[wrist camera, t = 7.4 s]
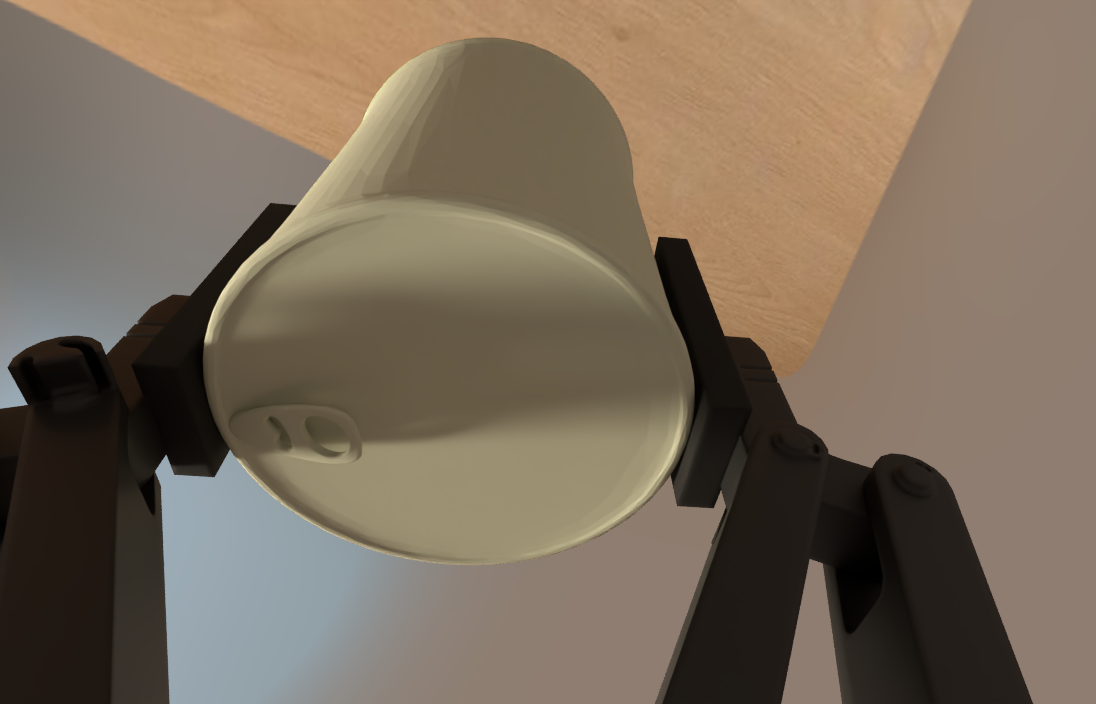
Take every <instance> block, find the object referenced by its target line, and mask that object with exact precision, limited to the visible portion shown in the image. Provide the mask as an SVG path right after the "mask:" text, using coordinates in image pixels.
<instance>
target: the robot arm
mask: <svg viewBox="0 0 1096 704" xmlns="http://www.w3.org/2000/svg"><path fill="white" fill-rule="evenodd" d="M296 207H297V205H287V204H275V203H270V204H269V205H268V206H267V208H266V209H265V210H264V211H263V212H262V213H261V214H260V216H259V217H258V218H257V219H256V220H255V221H254V223H253V224H252V225H251V226H250V227H249V229H248V230H247V231H246V232H245V233H244V234H243V235H242V237H241V238H240V239H239V240H238V241H237V242H236V244H235V245H234V246H233V247H232V248H231V249H230V250H229V252H228V253H227V254H226V255H225V256H224V257H223V259H222V260H221V261H220V262H219V263H218V264H217V266H216V267H215V268H214V269H213V270H212V272H211V273H210V274H209V275H208V276H207V277H206V278H205V279H204V281H203V282H202V283H201V284H200V285H199V286H198V288H197V289H196V290H195V291H194V292H193V293H192V295H191V296H184V295H171V296H170V297H168V298H166V299H164V300H163V301H161V302H159V303H157V304H155V305H153V306H152V307H151V308H150V309H149V310H148V311H147V312H146V313H145V314H144V315H143V316H142V317H141V318H140V319H139V320H138V324H135V325H134V326H133V327H132V328H131V329H130V330H129V331H128V332H127V336H123V338H122V339H121V340H120V341H119V342H118V343H117V344H116V345H115V346H114V347H113V348H112V349H111V350H110V352H109V353H108V354H107V355H106V354H105V352H104V349H103V347H102V344H101V343H100V342H98V341H96V340H95V339H93V338H90V337H83V336H66V337H58V338H54V339H50V340H46V341H42V342H40V343H38V344H36V345H33V346H31V347H29V348H26V349H25V350H24V351H22V352H21V353H20V354H18V355H17V356H15V357H14V358H13V360H12V361H11V363H10V364H9V366H8V369H9V371H10V373H11V375H12V377H13V378H14V380H15V382H16V384H17V386H18V388H19V389H20V391H21V393H22V395H23V397H24V398H25V400H26V402H27V404H28V405H25V406H18V407H10V408H3V409H0V704H169V684H168V683H169V681H168V656H167V631H166V608H165V582H164V557H163V531H162V508H161V507H162V506H161V485H160V483H159V480H158V477H157V475H156V473H155V470H156V469H157V467H158V466H159V464H160V463H161V461H162V460H163V458H164V457H165V455H167V457H168V460H169V462H170V464H171V467H172V470H173V472H174V474H175V475H188V476H206V477H215V475H216V473H217V472H218V470H219V468H220V466H221V465H222V463H223V461H224V459H225V457H226V456H227V454H228V452H229V450H230V448H229V447H228V445H227V444H226V442H225V440H224V439H223V437H222V435H221V433H220V431H219V429H218V427H217V425H216V423H215V421H214V418H213V415H212V412H211V409H210V406H209V403H208V399H207V394H206V389H205V385H204V377H203V351H204V341H205V336H206V332H207V328H208V324H209V321H210V318H211V315H212V312H213V309H214V307H215V305H216V303H217V301H218V299H219V297H220V295H221V293H222V291H223V290H224V288H225V287H226V285H227V284H228V282H229V281H230V280H231V278H232V277H233V275H234V274H235V273H236V272H237V270H238V269H239V268H240V266H241V265H242V264H243V263H244V262H245V261H246V260H247V259H248V258H249V257H250V256H251V255H252V254H253V253H254V252H255V251H256V250H257V249H258V248H259V247H260V246H262V245H263V244H264V243H266V242H267V241H268V240H269V239H270V238H271V237H272V235H273V234H274V233H275V232H276V231H277V230H278V229H279V227H280V226H281V225H282V224H283V223H284V222H285V220H286V219H287V218H288V217H289V215H290V214H291V213H292V212H293V210H294V209H295V208H296ZM654 258H655V261H656V265H657V268H658V271H659V275H660V278H661V282H662V285H663V288H664V292H665V295H666V298H667V301H668V304H669V307H670V310H671V313H672V316H673V318H674V320H675V322H676V324H677V326H678V328H679V330H680V332H681V334H682V337H683V339H684V341H685V344H686V347H687V351H688V354H689V358H690V362H691V366H692V371H693V377H694V389H695V407H694V416H693V421H692V426H691V430H690V433H689V437H688V441H687V444H686V446H685V448H684V451H683V453H682V455H681V457H680V460H679V461H678V463H677V465H676V467H675V469H674V471H673V472H672V473H671V479H672V484H673V488H674V493H675V498H676V503H677V506H687V507H703V508H714V506H715V503H716V501H717V499H718V496H719V494H720V491H721V490H722V494H723V497H724V501H725V504H726V509H725V511H724V513H723V516H722V518H721V521H720V523H719V526H718V528H717V531H716V533H715V535H714V538H713V540H712V546H711V549H710V552H709V554H708V557H707V560H706V563H705V566H704V569H703V571H702V574H701V577H700V579H699V582H698V585H697V588H696V591H695V593H694V596H693V599H692V602H691V605H690V608H689V610H688V613H687V616H686V619H685V621H684V624H683V627H682V630H681V633H680V635H679V638H678V641H677V644H676V647H675V649H674V652H673V655H672V658H671V660H670V663H669V666H668V669H667V672H666V674H665V677H664V680H663V683H662V686H661V689H660V691H659V694H658V697H657V700H656V702H655V704H781V701H782V696H783V691H784V686H785V681H786V676H787V671H788V665H789V660H790V655H791V651H792V645H793V640H794V635H795V630H796V625H797V620H798V615H799V610H800V605H801V599H802V594H803V589H804V584H805V579H806V574H807V569H808V564H809V559H812V560H815V561H818V562H821V563H823V568H824V575H825V582H826V589H827V597H828V604H829V611H830V618H831V625H832V633H833V640H834V647H835V655H836V662H837V669H838V676H839V683H840V691H841V697H842V704H1033V702H1032V700H1031V697H1030V695H1029V692H1028V689H1027V686H1026V684H1025V681H1024V678H1023V676H1022V673H1021V671H1020V668H1019V665H1018V662H1017V660H1016V657H1015V655H1014V652H1013V649H1012V647H1011V644H1010V641H1009V639H1008V636H1007V633H1006V631H1005V628H1004V625H1003V623H1002V620H1001V617H1000V615H999V612H998V609H997V607H996V604H995V601H994V599H993V596H992V593H991V591H990V588H989V585H988V583H987V580H986V577H985V575H984V572H983V570H982V567H981V564H980V561H979V559H978V556H977V554H976V551H975V548H974V546H973V543H972V540H971V538H970V535H969V532H968V530H967V527H966V524H965V522H964V519H963V517H962V514H961V511H960V509H959V506H958V503H957V500H956V498H955V495H954V493H953V490H952V488H951V487H950V485H949V483H948V482H947V480H946V479H945V478H944V477H943V476H942V475H941V474H940V473H939V472H938V471H937V470H936V469H935V468H933V467H931V466H930V465H928V464H926V463H924V462H923V461H921V460H919V459H916V458H913V457H910V456H907V455H901V454H888V455H884V456H881V457H880V458H879V459H878V460H877V461H876V463H875V464H874V466H873V468H869V467H866V466H862V465H859V464H856V463H852V462H849V461H846V460H843V459H840V458H837V457H835V456H832V455H830V454H828V449H827V447H826V445H825V444H824V442H823V441H822V439H821V438H819V437H818V436H817V435H816V434H814V432H812V431H811V430H809V429H807V428H805V427H803V426H801V425H799V424H797V422H796V419H795V417H794V415H793V413H792V411H791V409H790V406H789V404H788V402H787V400H786V398H785V395H784V393H783V391H782V389H781V387H780V384H779V383H777V378H776V376H775V373H774V371H772V367H771V365H770V362H769V360H768V358H767V356H766V354H765V352H764V351H763V350H762V349H761V348H760V347H759V346H758V345H757V344H756V343H755V342H753V341H752V340H751V339H750V338H743V337H730V336H724V333H723V331H722V328H721V326H720V323H719V320H718V318H717V315H716V313H715V310H714V307H713V305H712V302H711V300H710V297H709V294H708V292H707V289H706V287H705V284H704V282H703V279H702V276H701V274H700V271H699V269H698V266H697V263H696V261H695V258H694V256H693V253H692V250H691V248H690V245H689V243H688V240H687V239H679V238H668V237H658V242H657V246H656V251H655V255H654Z"/></svg>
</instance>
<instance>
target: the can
mask: <svg viewBox="0 0 1096 704" xmlns="http://www.w3.org/2000/svg"><path fill="white" fill-rule="evenodd" d="M203 377H204V385H205V389H206V394H207V399H208V403H209V406H210V409H211V412H212V415H213V418H214V421H215V423H216V425H217V427H218V429H219V431H220V433H221V435H222V437H223V439H224V440H225V442H226V444H227V445H228V447H229V448H230V450H231V451H232V453H233V455H234V456H235V457H236V459H237V460H238V461H239V462H240V463H241V465H242V466H243V467H244V468H245V470H246V471H247V472H248V473H249V474H250V476H251V477H252V478H253V479H254V480H255V481H256V482H258V484H259V485H260V486H262V487H263V488H264V489H265V490H266V491H267V492H268V493H269V494H270V495H271V496H273V497H274V498H275V499H277V500H278V501H279V502H280V503H282V504H283V505H284V506H285V507H287V508H288V509H290V510H291V511H293V512H294V513H296V514H297V515H299V516H300V517H302V518H303V519H305V520H306V521H308V522H310V523H312V524H314V525H315V526H317V527H319V528H321V529H323V530H325V531H327V532H329V533H331V534H333V535H335V536H337V537H339V538H342V539H344V540H347V541H349V542H351V543H354V544H357V545H360V546H362V547H365V548H368V549H372V550H375V551H378V552H381V553H385V554H389V555H393V556H397V557H401V558H406V559H412V560H417V561H424V562H431V563H440V564H455V565H488V564H501V563H511V562H519V561H525V560H530V559H535V558H540V557H544V556H548V555H552V554H556V553H559V552H562V551H564V550H567V549H571V548H573V547H576V546H578V545H581V544H583V543H585V542H588V541H590V540H592V539H594V538H596V537H599V536H601V535H602V534H604V533H606V532H608V531H609V530H611V529H613V528H614V527H616V526H618V525H619V524H621V523H622V522H624V521H625V520H627V519H628V518H630V517H631V516H632V515H633V514H635V513H636V512H637V511H638V510H639V509H640V508H642V506H644V505H645V504H646V503H647V502H648V501H650V499H651V498H652V497H653V496H654V495H655V494H656V493H657V491H658V490H659V489H660V488H661V487H662V486H663V485H664V483H665V482H666V480H667V479H668V478H669V476H670V475H671V473H672V472H673V471H674V469H675V467H676V465H677V463H678V461H679V460H680V457H681V455H682V453H683V451H684V448H685V446H686V444H687V441H688V437H689V433H690V430H691V426H692V421H693V416H694V407H695V389H694V377H693V371H692V366H691V362H690V358H689V354H688V351H687V347H686V344H685V341H684V339H683V337H682V334H681V332H680V330H679V328H678V326H677V324H676V322H675V320H674V318H673V316H672V313H671V310H670V307H669V304H668V301H667V298H666V295H665V292H664V288H663V285H662V282H661V278H660V275H659V271H658V268H657V265H656V261H655V258H654V254H653V251H652V247H651V244H650V241H649V237H648V234H647V230H646V227H645V224H644V220H643V217H642V213H641V210H640V207H639V203H638V200H637V196H636V192H635V188H634V184H633V165H632V158H631V153H630V148H629V144H628V141H627V137H626V135H625V132H624V129H623V127H622V125H621V122H620V120H619V118H618V117H617V115H616V113H615V111H614V109H613V108H612V106H611V105H610V103H609V102H608V100H607V99H606V97H605V96H604V95H603V94H602V92H601V91H600V90H599V89H598V88H597V87H596V86H595V84H594V83H593V82H592V81H591V80H590V79H589V78H588V77H587V76H585V75H584V74H583V73H582V72H581V71H580V70H578V69H577V68H576V67H574V66H573V65H571V64H570V63H568V62H567V61H566V60H564V59H562V58H560V57H558V56H557V55H555V54H553V53H551V52H549V51H547V50H544V49H542V48H539V47H537V46H534V45H531V44H528V43H524V42H520V41H515V40H510V39H502V38H472V39H464V40H459V41H454V42H450V43H446V44H443V45H440V46H437V47H435V48H432V49H430V50H428V51H426V52H424V53H422V54H420V55H419V56H417V57H415V58H413V59H412V60H410V61H409V62H408V63H406V64H405V65H403V66H402V67H401V68H400V69H398V70H397V71H396V72H395V73H394V74H393V75H392V76H391V77H390V78H389V79H388V80H387V81H386V82H385V83H384V84H383V86H382V87H381V88H380V90H379V91H378V92H377V94H376V95H375V97H374V98H373V100H372V102H371V103H370V105H369V107H368V109H367V111H366V113H365V116H364V118H363V120H362V123H361V125H360V126H359V128H358V129H357V130H356V132H355V133H354V134H353V136H352V137H351V138H350V140H349V141H348V142H347V144H346V145H345V146H344V148H343V149H342V150H341V151H340V153H339V154H338V155H337V156H336V158H335V159H334V160H333V161H332V163H331V164H330V165H329V166H328V168H327V169H326V170H325V171H324V173H323V174H322V175H321V177H320V178H319V179H318V180H317V181H316V183H315V184H314V185H313V186H312V188H311V189H310V190H309V192H308V193H307V194H306V195H305V196H304V198H303V199H302V200H301V202H300V203H299V204H298V205H297V207H296V208H295V209H294V210H293V212H292V213H291V214H290V215H289V217H288V218H287V219H286V220H285V222H284V223H283V224H282V225H281V226H280V227H279V229H278V230H277V231H276V232H275V233H274V234H273V235H272V237H271V238H270V239H269V240H268V241H267V242H266V243H264V244H263V245H262V246H260V247H259V248H258V249H257V250H256V251H255V252H254V253H253V254H252V255H251V256H250V257H249V258H248V259H247V260H246V261H245V262H244V263H243V264H242V265H241V266H240V268H239V269H238V270H237V272H236V273H235V274H234V275H233V277H232V278H231V280H230V281H229V282H228V284H227V285H226V287H225V288H224V290H223V291H222V293H221V295H220V297H219V299H218V301H217V303H216V305H215V307H214V309H213V312H212V315H211V318H210V321H209V324H208V328H207V332H206V336H205V341H204V351H203Z"/></svg>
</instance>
